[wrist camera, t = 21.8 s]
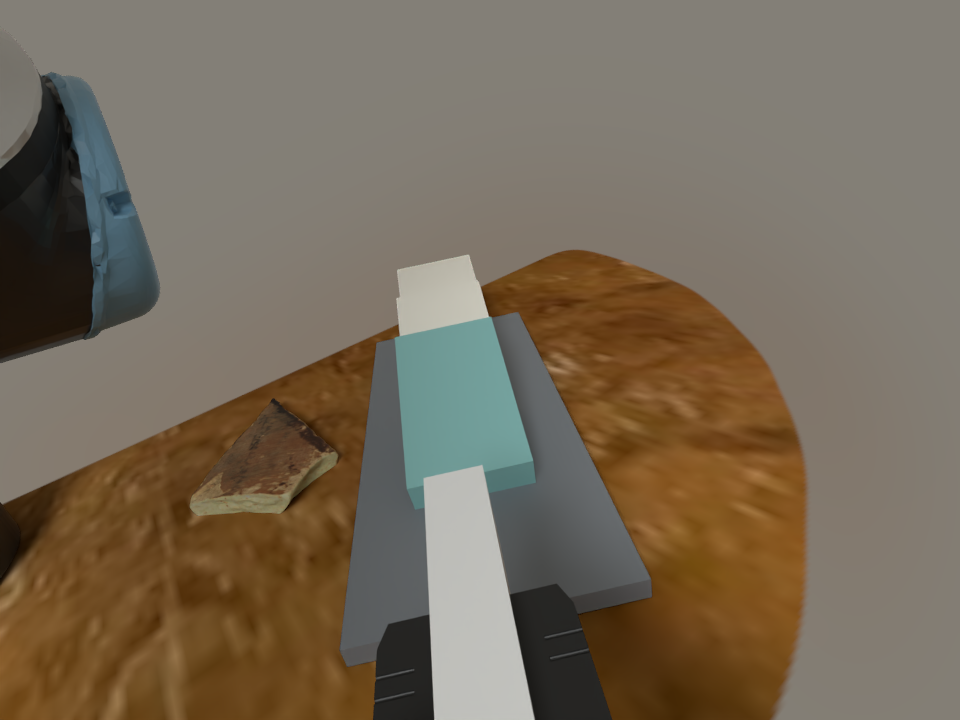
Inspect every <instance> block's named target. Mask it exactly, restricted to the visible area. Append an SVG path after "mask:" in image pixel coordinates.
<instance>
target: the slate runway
mask: <svg viewBox="0 0 960 720" xmlns="http://www.w3.org/2000/svg"><path fill="white" fill-rule="evenodd" d="M492 321H493V325H494V328H495V332H496V335H497V338H498V342H499V345H500V349H501V352H502V356H503V359H504V362H505V366H506V369H507V373H508V376H509V380H510V383H511V386H512V390H513V393H514V397H515V400H516V403H517V407H518V410H519V414H520V417H521V421H522V424H523V427H524V431H525V434H526V438H527V441H528V445H529V448H530V451H531V455H532V458H533V463H534V471H535V479H536V483H532V484H528V485H523V486H519V487H514V488H510V489H505V490H501V491H496V492H492V493H489V496H490V501H491V505H492V510H493V514H494V519H495V523H496V528H497V532H498V536H499V541H500V545H501V550H502V555H503V560H504V565H505V569H506V574H507V579H508V584H509V589H510V593H511V594H513V593H518V592H522V591H526V590H531V589H535V588H539V587H544V586H548V585H552V584H558V585H559V586H560V588H561V589H562V590H563V591H564V592H565V593H566V594H567V595H568V597H569V598H570V599H571V600H572V601H573V602H574V605H575V608H576V611H577V614H580V613H584V612H589V611H593V610H597V609H602V608H606V607H610V606H615V605H619V604H623V603H628V602H632V601H636V600H641V599H645V598H650V597H652V588H651V578H650V576H649V574H648V572H647V570H646V568H645V566H644V564H643V562H642V560H641V558H640V556H639V554H638V552H637V550H636V548H635V546H634V544H633V542H632V540H631V538H630V536H629V534H628V532H627V530H626V528H625V526H624V524H623V522H622V520H621V518H620V516H619V514H618V512H617V510H616V508H615V506H614V504H613V502H612V500H611V498H610V496H609V494H608V492H607V490H606V488H605V486H604V484H603V482H602V480H601V478H600V476H599V474H598V472H597V470H596V468H595V466H594V464H593V462H592V460H591V458H590V456H589V454H588V452H587V450H586V448H585V446H584V444H583V442H582V439H581V437H580V435H579V433H578V431H577V429H576V427H575V425H574V423H573V421H572V419H571V417H570V415H569V413H568V411H567V409H566V407H565V405H564V403H563V401H562V399H561V397H560V395H559V393H558V391H557V389H556V387H555V385H554V383H553V381H552V379H551V377H550V375H549V373H548V371H547V369H546V367H545V365H544V363H543V361H542V359H541V357H540V355H539V353H538V351H537V349H536V347H535V345H534V343H533V341H532V339H531V337H530V335H529V333H528V331H527V329H526V327H525V325H524V323H523V321H522V319H521V317H520V315H519V313H518V312H517V313H512V314H507V315H503V316H498V317H493V318H492ZM429 614H430V612H429V590H428V568H427V546H426V523H425V508H420V509H416V510H415V508H414V505H413V503H412V501H411V498H410V496H409V493H408V491H407V486H406V473H405V461H404V448H403V435H402V423H401V410H400V398H399V385H398V372H397V360H396V347H395V339H391V340H386V341H382V342H377V345H376V353H375V362H374V370H373V378H372V386H371V395H370V403H369V411H368V420H367V428H366V436H365V444H364V453H363V461H362V469H361V478H360V486H359V494H358V502H357V511H356V519H355V527H354V535H353V544H352V552H351V560H350V569H349V577H348V585H347V593H346V602H345V610H344V618H343V627H342V635H341V643H340V652H341V654H342V657H343V659H344V661H345V663H346V665H347V667H349V666H354V665H358V664H362V663H367V662H371V661H375V660H376V657H377V648H378V646H379V644H380V641H381V639H382V637H383V634H384V632H385V630H386V628H387V625H388V624H390V623H394V622H399V621H403V620H407V619H412V618H416V617H420V616H425V615H429Z"/></svg>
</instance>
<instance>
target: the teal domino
mask: <svg viewBox="0 0 960 720" xmlns="http://www.w3.org/2000/svg"><path fill="white" fill-rule="evenodd" d="M395 347H396V360H397V372H398V385H399V398H400V410H401V423H402V435H403V448H404V461H405V473H406V486H407V491H408V493H409V496H410V498H411V501H412V503H413V505H414V508H415V510H416V509H420V508H425V501H424V479H423V478H426V477H431V476H435V475H440V474H444V473H448V472H453V471H457V470H462V469H466V468H471V467H475V466H480V465H483V470H484V474H485V478H486V483H487V487H488V492H489V493H492V492H496V491H501V490H505V489H510V488H514V487H519V486H523V485H528V484H532V483H536V479H535V471H534V463H533V458H532V455H531V451H530V448H529V445H528V441H527V438H526V434H525V431H524V427H523V424H522V421H521V417H520V414H519V410H518V407H517V403H516V400H515V397H514V393H513V390H512V386H511V383H510V380H509V376H508V373H507V369H506V366H505V362H504V359H503V356H502V352H501V349H500V345H499V342H498V338H497V335H496V332H495V328H494V325H493V321H492V318H491V317H487V318H482V319H478V320H473V321H468V322H464V323H459V324H454V325H450V326H445V327H441V328H436V329H431V330H427V331H422V332H417V333H413V334H408V335H403V336H399V337H395Z"/></svg>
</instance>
